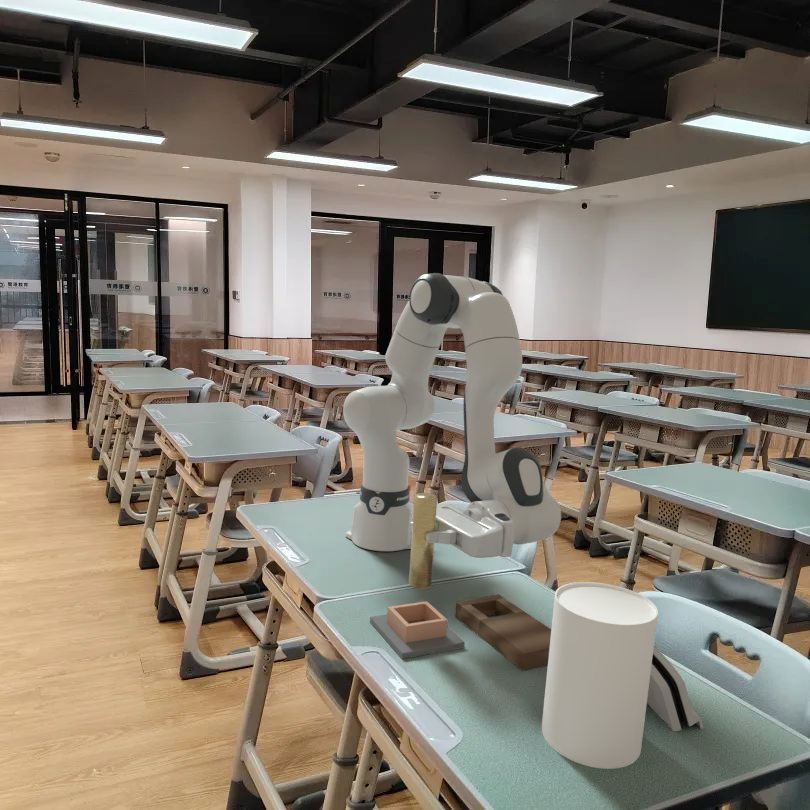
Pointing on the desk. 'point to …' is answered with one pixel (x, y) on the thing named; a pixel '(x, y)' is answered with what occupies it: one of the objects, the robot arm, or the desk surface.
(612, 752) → the canister
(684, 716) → the white slotted casing
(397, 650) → the stand
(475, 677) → the desk surface
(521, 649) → the wooden block with recess
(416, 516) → the axle
